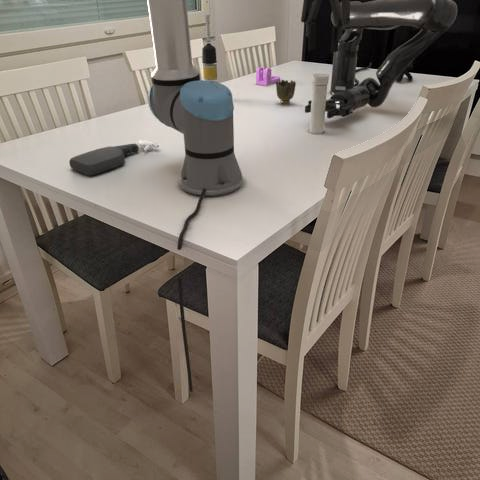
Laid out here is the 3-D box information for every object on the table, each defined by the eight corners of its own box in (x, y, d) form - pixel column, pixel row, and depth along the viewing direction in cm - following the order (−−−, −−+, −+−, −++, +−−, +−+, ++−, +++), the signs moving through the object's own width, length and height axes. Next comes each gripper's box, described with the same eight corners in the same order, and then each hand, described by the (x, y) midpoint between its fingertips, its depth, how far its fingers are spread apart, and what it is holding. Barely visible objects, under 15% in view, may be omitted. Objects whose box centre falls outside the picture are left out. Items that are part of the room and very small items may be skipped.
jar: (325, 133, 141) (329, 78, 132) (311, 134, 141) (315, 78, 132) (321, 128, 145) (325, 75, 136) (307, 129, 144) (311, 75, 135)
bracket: (266, 85, 195) (266, 69, 192) (256, 84, 198) (256, 67, 195) (282, 80, 204) (282, 64, 200) (272, 78, 207) (272, 62, 203)
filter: (220, 99, 177) (217, 15, 161) (206, 100, 176) (202, 16, 160) (215, 96, 182) (212, 14, 166) (202, 97, 180) (197, 14, 164)
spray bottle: (67, 168, 120) (139, 144, 136) (91, 178, 114) (163, 151, 130) (65, 157, 118) (137, 134, 134) (89, 167, 112) (162, 142, 128)
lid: (330, 84, 133) (330, 76, 132) (314, 85, 132) (314, 77, 131) (325, 81, 137) (326, 73, 136) (310, 81, 137) (310, 74, 135)
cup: (272, 105, 169) (272, 83, 165) (279, 100, 174) (280, 79, 170) (290, 107, 166) (291, 85, 162) (297, 102, 171) (298, 80, 167)
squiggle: (400, 92, 202) (376, 71, 205) (417, 76, 202) (392, 56, 205) (405, 81, 191) (380, 59, 194) (423, 64, 191) (397, 42, 194)
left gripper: (290, -42, 121) (286, 49, 133) (357, -44, 110) (347, 56, 122) (305, -42, 126) (300, 45, 138) (370, -44, 115) (359, 52, 127)
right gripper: (329, 86, 151) (299, 96, 141) (366, 93, 142) (337, 104, 132) (327, 109, 155) (298, 119, 145) (363, 117, 146) (334, 128, 136)
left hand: (322, 50), depth 130 cm, fingers open, 7 cm apart
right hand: (316, 112), depth 139 cm, fingers open, 8 cm apart
